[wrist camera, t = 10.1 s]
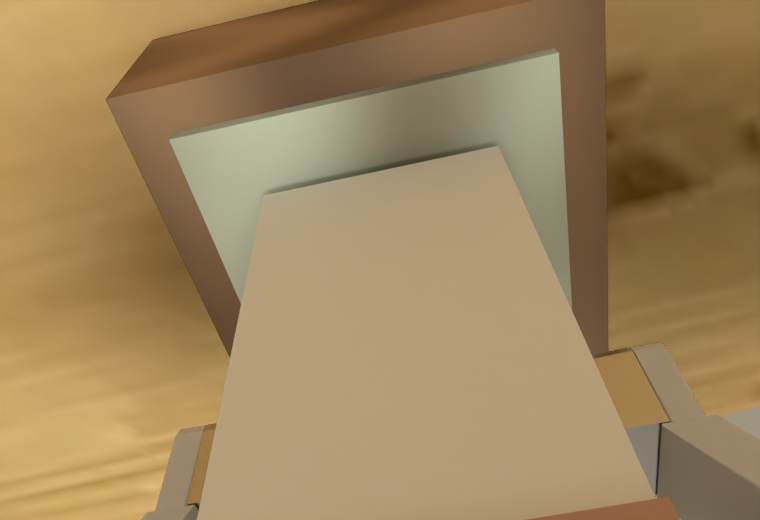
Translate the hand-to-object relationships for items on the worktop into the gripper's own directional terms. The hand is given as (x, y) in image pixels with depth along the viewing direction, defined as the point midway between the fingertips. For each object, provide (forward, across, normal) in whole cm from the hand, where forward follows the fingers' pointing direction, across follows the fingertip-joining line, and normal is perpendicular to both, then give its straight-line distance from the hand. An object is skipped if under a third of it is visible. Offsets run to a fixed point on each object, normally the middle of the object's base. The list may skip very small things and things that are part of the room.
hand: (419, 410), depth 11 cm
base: (+9, 0, 0) cm, 9 cm away
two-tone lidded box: (+4, 0, 0) cm, 4 cm away
